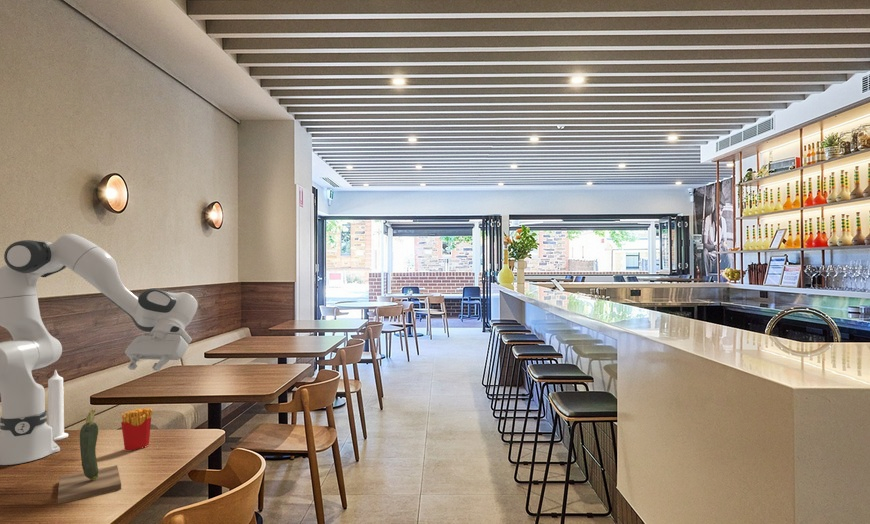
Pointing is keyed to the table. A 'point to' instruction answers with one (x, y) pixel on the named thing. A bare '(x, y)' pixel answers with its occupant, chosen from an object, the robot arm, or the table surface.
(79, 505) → the table surface
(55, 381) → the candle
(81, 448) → the vegetable
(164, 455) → the table surface
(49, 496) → the table surface
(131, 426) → the french fries
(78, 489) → the cutting board
